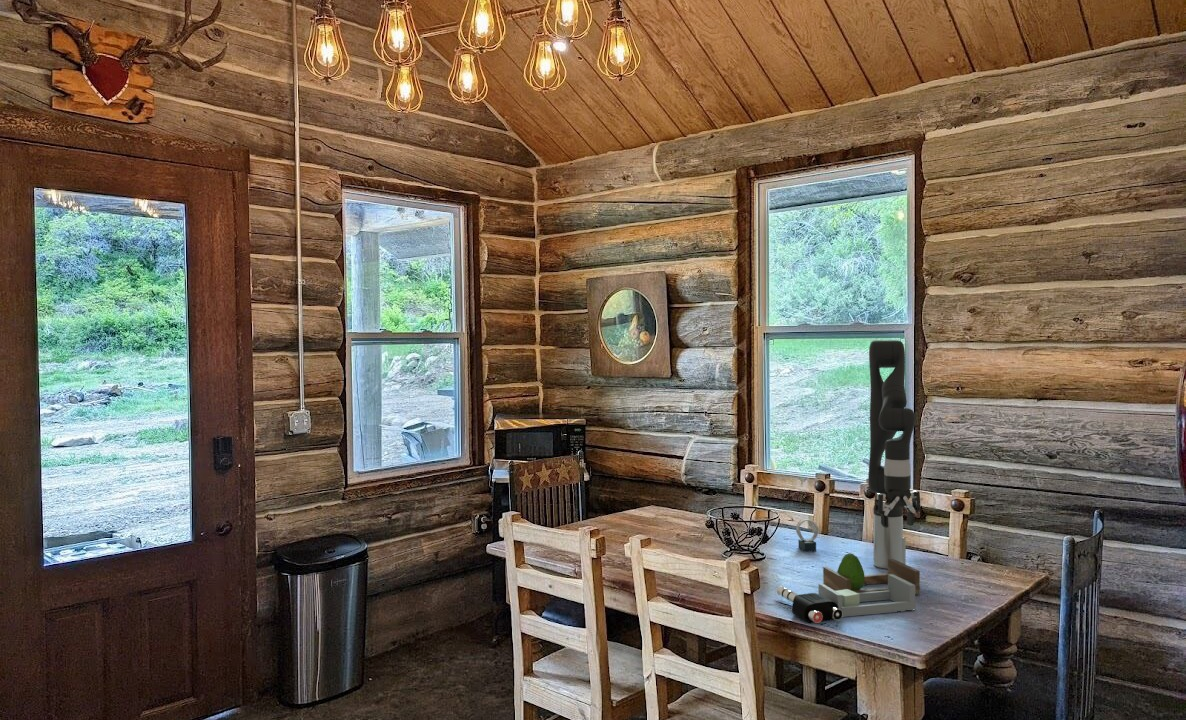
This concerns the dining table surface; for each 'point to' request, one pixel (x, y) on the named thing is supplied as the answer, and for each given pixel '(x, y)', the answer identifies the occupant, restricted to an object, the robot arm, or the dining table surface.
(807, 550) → the silver ring on block
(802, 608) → the audio adapter
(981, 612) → the dining table surface
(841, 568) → the avocado
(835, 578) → the frame
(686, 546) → the dining table surface
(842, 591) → the sage block
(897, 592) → the grey open rectangular frame
